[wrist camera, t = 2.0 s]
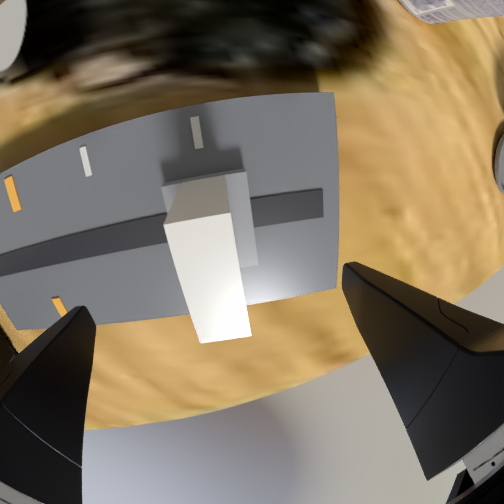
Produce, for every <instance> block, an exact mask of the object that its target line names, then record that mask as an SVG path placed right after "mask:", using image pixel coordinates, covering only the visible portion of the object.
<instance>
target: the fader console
mask: <svg viewBox="0 0 504 504" xmlns="http://www.w3.org/2000/svg"><path fill="white" fill-rule="evenodd" d="M243 168H245V170H246V172H247V180H248V188H249V195H250V203H251V211H252V218H253V226H254V234H255V242H256V249H257V257H258V265H255V266H249V267H243V268H240V273H241V278H242V284H243V290H244V296H245V302H246V305H251V304H257V303H263V302H268V301H274V300H279V299H285V298H290V297H295V296H300V295H305V294H310V293H315V292H320V291H325V290H329V289H334V288H336V287H337V270H338V247H339V163H338V140H337V124H336V111H335V99H334V92H315V93H287V94H272V95H260V96H250V97H241V98H233V99H226V100H219V101H213V102H207V103H201V104H196V105H190V106H185V107H180V108H176V109H171V110H167V111H162V112H158V113H154V114H150V115H146V116H142V117H139V118H135V119H132V120H128V121H125V122H121V123H118V124H115V125H112V126H109V127H106V128H103V129H100V130H97V131H94V132H91V133H88V134H85V135H83V136H80V137H77V138H75V139H72V140H70V141H67V142H65V143H62V144H60V145H58V146H55V147H53V148H51V149H48V150H46V151H44V152H42V153H39V154H37V155H35V156H33V157H31V158H29V159H27V160H25V161H23V162H21V163H19V164H17V165H15V166H13V167H11V168H9V169H8V170H6V171H4V172H2V173H0V303H1V305H2V307H3V308H4V310H5V312H6V313H7V315H8V317H9V318H10V320H11V322H12V323H13V325H14V326H15V328H16V329H17V330H26V329H47V328H49V327H51V326H52V325H53V324H54V323H55V322H57V321H58V320H59V319H60V318H61V317H63V316H64V315H65V314H66V313H68V312H69V311H70V310H71V309H73V308H74V307H76V306H83V305H84V306H86V307H87V309H88V310H89V312H90V314H91V316H92V318H93V320H94V321H95V324H96V325H101V324H111V323H121V322H131V321H140V320H148V319H157V318H165V317H172V316H180V315H187V314H190V312H189V309H188V306H187V303H186V300H185V297H184V294H183V291H182V287H181V284H180V281H179V278H178V275H177V271H176V268H175V265H174V261H173V258H172V254H171V251H170V247H169V244H168V240H167V236H166V233H165V229H164V222H165V220H166V217H167V211H166V207H165V202H164V198H163V194H162V190H161V186H162V185H163V183H165V182H170V181H175V180H180V179H185V178H190V177H195V176H201V175H206V174H212V173H218V172H224V171H230V170H236V169H243Z"/></svg>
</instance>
